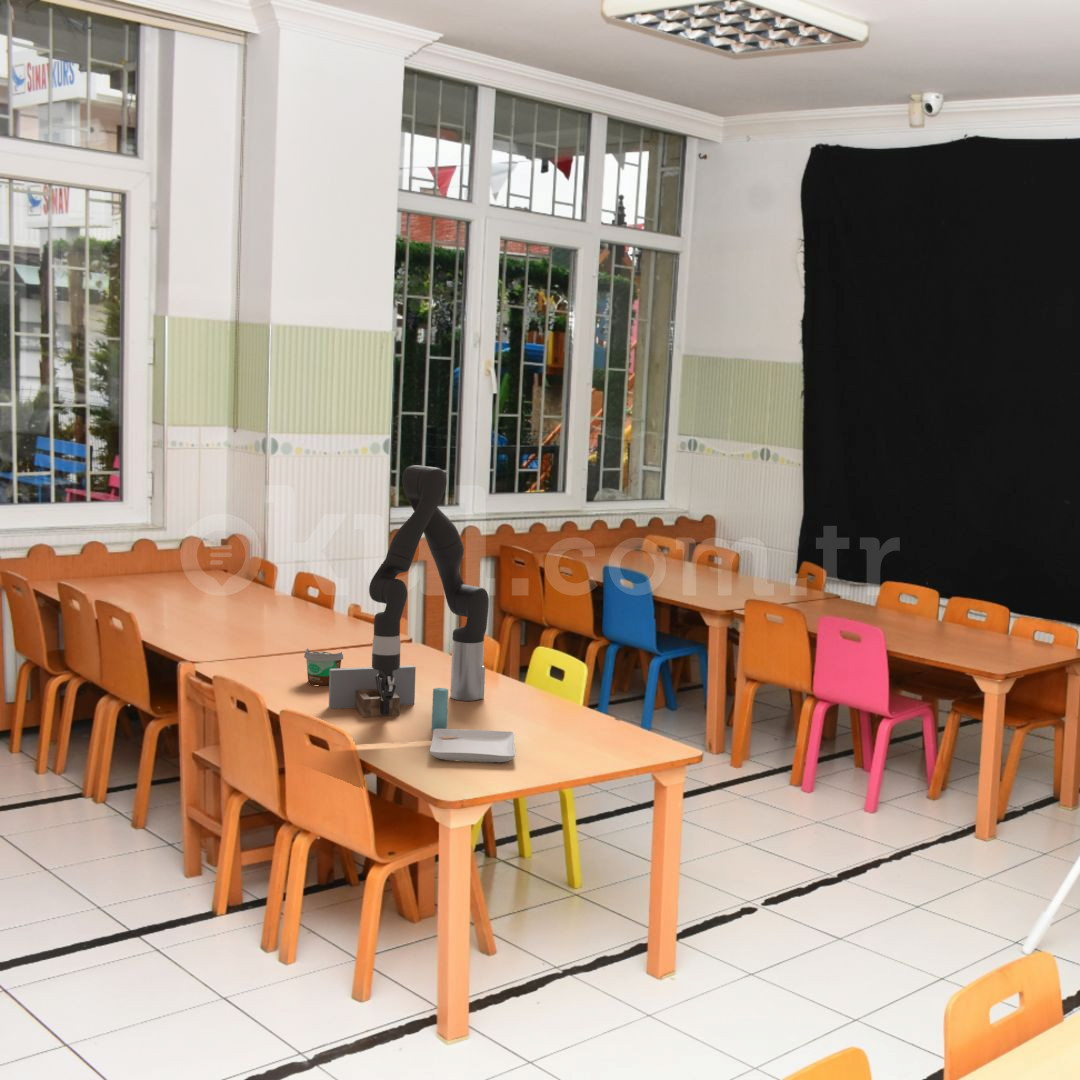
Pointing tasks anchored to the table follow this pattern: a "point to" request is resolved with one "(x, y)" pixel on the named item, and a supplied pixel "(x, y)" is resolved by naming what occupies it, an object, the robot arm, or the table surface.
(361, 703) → the block
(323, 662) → the food container
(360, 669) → the backstop wall
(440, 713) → the teal rounded bar piece
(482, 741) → the salad plate
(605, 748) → the table surface
